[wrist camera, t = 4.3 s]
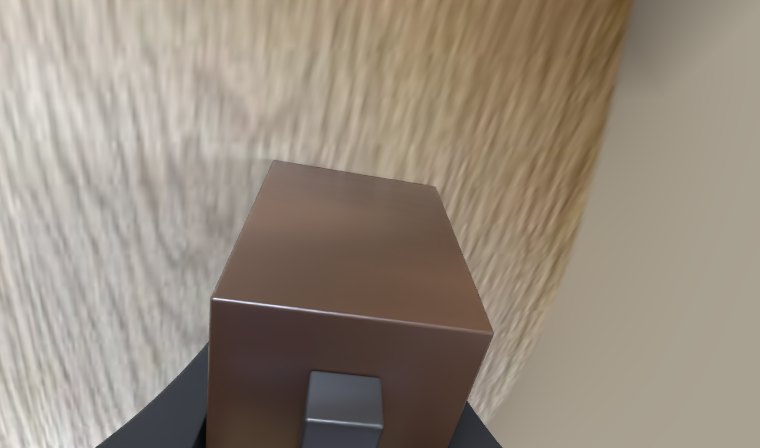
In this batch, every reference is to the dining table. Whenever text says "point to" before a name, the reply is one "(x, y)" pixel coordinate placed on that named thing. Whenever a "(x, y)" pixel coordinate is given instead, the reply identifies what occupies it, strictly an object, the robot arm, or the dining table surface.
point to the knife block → (342, 318)
